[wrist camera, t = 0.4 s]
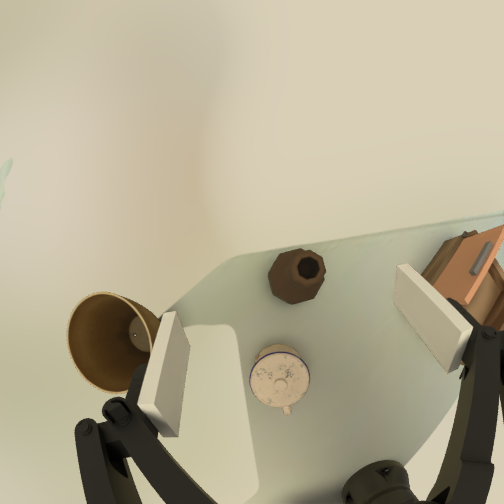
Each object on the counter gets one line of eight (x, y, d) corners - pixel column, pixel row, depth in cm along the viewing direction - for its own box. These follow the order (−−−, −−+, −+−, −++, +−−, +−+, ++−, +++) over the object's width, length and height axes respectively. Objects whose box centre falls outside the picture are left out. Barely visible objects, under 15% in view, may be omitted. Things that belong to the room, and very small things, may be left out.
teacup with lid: (247, 348, 49) (241, 363, 38) (297, 337, 49) (306, 349, 38) (262, 408, 48) (260, 435, 36) (310, 397, 47) (320, 422, 36)
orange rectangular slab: (466, 242, 42) (508, 228, 30) (425, 304, 41) (467, 304, 29) (461, 235, 42) (502, 220, 30) (419, 296, 41) (461, 295, 29)
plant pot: (144, 383, 49) (103, 409, 34) (102, 321, 52) (53, 326, 36) (200, 343, 50) (173, 362, 34) (154, 278, 52) (112, 270, 36)
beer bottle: (320, 284, 50) (363, 275, 27) (285, 311, 50) (300, 325, 26) (294, 250, 52) (314, 212, 28) (259, 276, 51) (251, 259, 28)
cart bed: (482, 292, 48) (524, 289, 34) (439, 357, 47) (479, 370, 33) (443, 239, 50) (483, 223, 36) (394, 304, 49) (431, 305, 35)
